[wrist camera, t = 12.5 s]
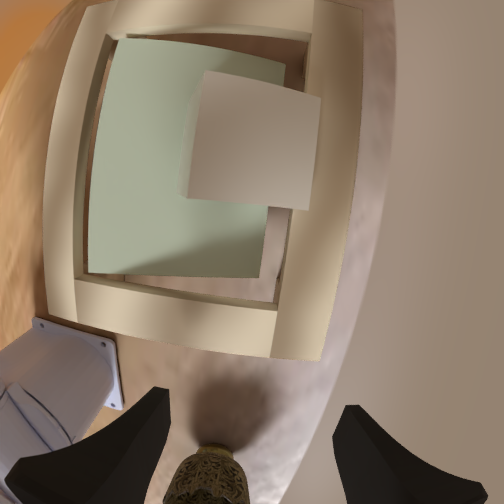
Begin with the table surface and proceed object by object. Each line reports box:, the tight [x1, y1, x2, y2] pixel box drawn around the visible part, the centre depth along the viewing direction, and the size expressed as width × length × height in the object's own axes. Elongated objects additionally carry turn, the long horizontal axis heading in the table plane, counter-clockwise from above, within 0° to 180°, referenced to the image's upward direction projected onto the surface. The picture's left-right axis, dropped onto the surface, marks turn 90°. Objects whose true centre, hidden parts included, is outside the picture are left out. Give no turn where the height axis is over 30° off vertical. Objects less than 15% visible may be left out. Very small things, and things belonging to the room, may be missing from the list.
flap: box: [88, 38, 286, 278], centre depth 14 cm, size 10×12×3 cm
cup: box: [163, 443, 250, 504], centre depth 20 cm, size 8×7×8 cm
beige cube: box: [176, 70, 321, 211], centre depth 12 cm, size 4×4×4 cm
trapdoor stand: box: [43, 0, 363, 361], centre depth 15 cm, size 15×18×7 cm
